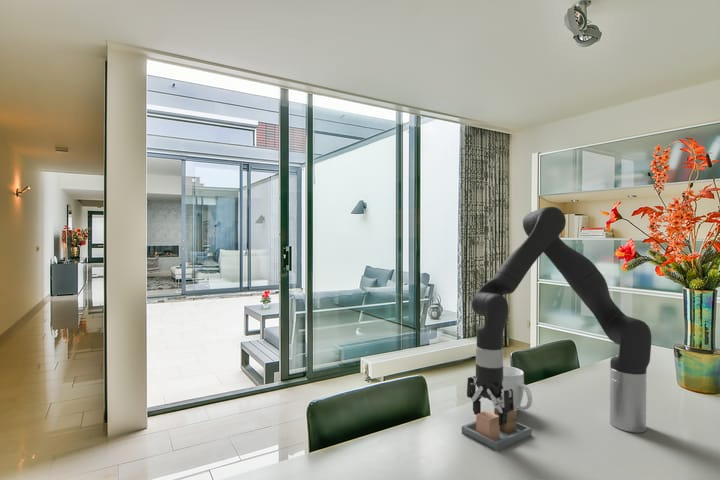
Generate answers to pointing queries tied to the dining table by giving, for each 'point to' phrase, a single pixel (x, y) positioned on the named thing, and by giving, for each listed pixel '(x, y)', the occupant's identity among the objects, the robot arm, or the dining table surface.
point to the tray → (503, 438)
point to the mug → (515, 386)
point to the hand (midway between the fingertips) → (489, 419)
